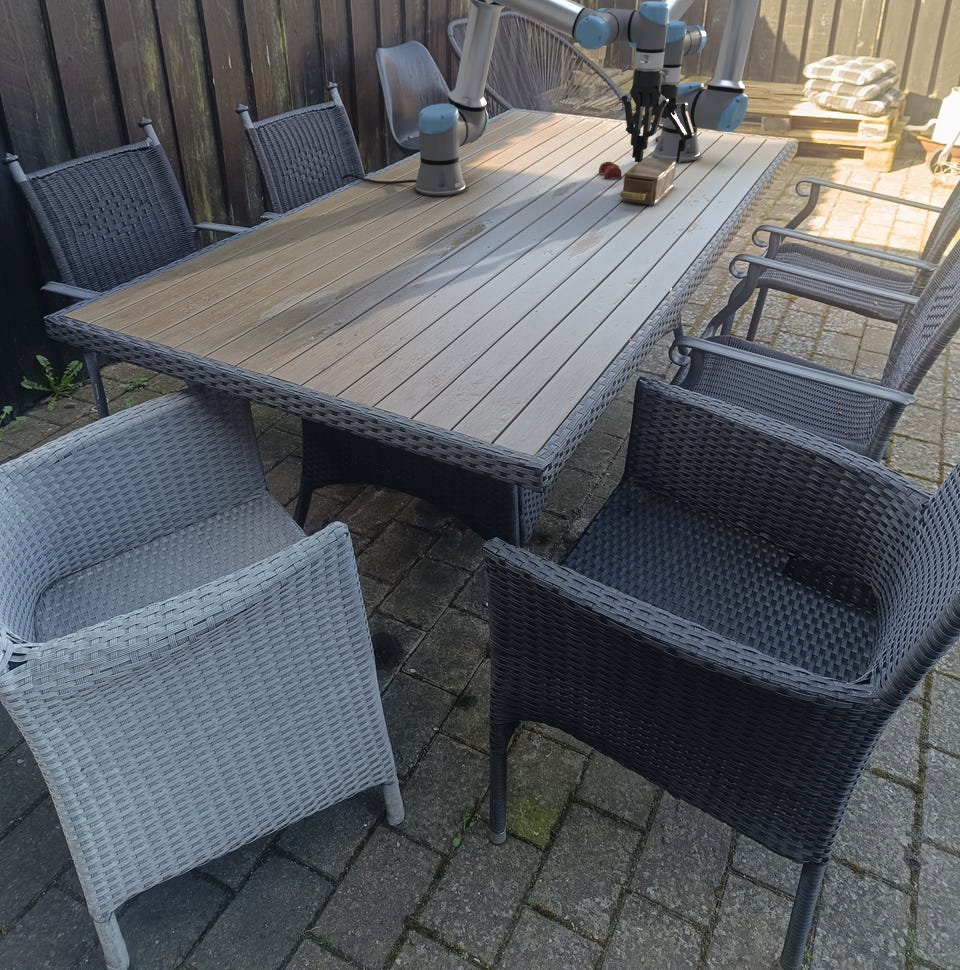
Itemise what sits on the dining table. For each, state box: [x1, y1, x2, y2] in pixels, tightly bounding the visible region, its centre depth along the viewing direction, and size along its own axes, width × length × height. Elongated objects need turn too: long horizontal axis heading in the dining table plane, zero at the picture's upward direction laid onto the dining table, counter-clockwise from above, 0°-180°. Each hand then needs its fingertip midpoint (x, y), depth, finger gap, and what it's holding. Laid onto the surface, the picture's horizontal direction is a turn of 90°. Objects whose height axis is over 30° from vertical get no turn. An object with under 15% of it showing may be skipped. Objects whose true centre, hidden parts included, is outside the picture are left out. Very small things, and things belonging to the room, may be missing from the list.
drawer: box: [619, 177, 654, 204], centre depth 249 cm, size 24×9×6 cm, turn 154°
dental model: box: [598, 161, 623, 179], centre depth 269 cm, size 6×4×8 cm
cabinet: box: [621, 156, 677, 206], centre depth 252 cm, size 20×10×8 cm, turn 154°
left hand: (638, 160), depth 237 cm, fingers closed
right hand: (656, 159), depth 253 cm, fingers open, 13 cm apart
